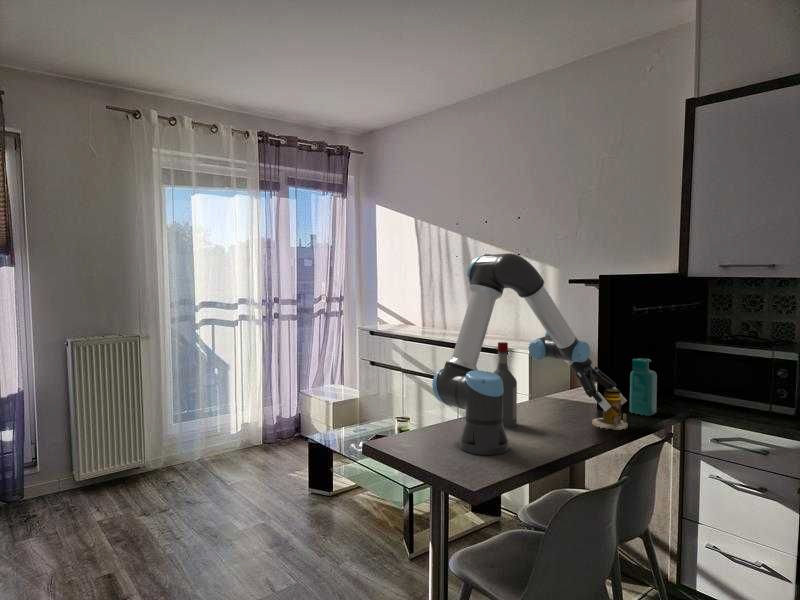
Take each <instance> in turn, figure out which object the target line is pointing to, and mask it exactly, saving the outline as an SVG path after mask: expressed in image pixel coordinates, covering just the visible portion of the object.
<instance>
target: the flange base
mask: <svg viewBox="0 0 800 600" xmlns="http://www.w3.org/2000/svg"><path fill="white" fill-rule="evenodd" d="M598 418H599V419H603V417H598ZM591 421H592V423H591V425H592V424H593V425H594V427H595V426H596V428H598V427H600V428H599V429H602V428H605V429H604V430H608V429H612V430H611V431H621V430H622V429H624V430H627V429H628V428H629V427H628V426H629V424H628V422H627V413H623V414H622V419H621V423H622V424H623V425H622V426H620V425H617V418H616V417H615V418H614V425H609V424H598V423H597V420H596V418H594V419H592V420H591ZM593 425H592V426H593ZM626 428H627V429H626Z"/></svg>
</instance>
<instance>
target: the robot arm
mask: <svg viewBox="0 0 800 600" xmlns="http://www.w3.org/2000/svg"><path fill="white" fill-rule="evenodd" d="M466 272H467V273H466V274H467V275H466V276H467V280H468V283H469V286H468V287H469V290H470V292H471V294H470V297H469V301H468V305H467V308H466V310H465V315H464V318H463V320H462V324H461V327H460V330H459V333H458V337H457V341H456V343H455V347H454V351H453V353H452V355H451V358H450V359H448V360H446V361H445V364H444V367H443V368H441V369H439V370H438V371H437V372H436V373H435V374H434V376H433V378H432V385H431V387H432V392H433V394H434V397H436V398H435V399H437V400H438V401H439V402H441V403H443V404H445V405H446V406H449V407H455V408H458V409H461V410H465V423H464V426H463V429H462V432H461V435H460V438H459V448H460V449H461V450H462V451H464V452H466V453H469V454H472V455H480V456H481V455H482V456H496V455H501V454H505V453H507V452H508V451H509V446H510V445H509V439H508V437H507V434H506V430H505V427H504V426H503V399H504V388H503V380H502V378H501V377H500V376H499V375H497V374H495V373H494V372H491V371H484V370H481V369H478V367H477V365H478V361H479V358H480V354H481V351H482V347H483V345H484V340H485V338H486V334H487V331H488V328H489V324H490V321H491V319H492V314H493V311H494V307H495V305H496V301H497V300H498V299H501V298H502V297H503V293H504V289H510V290H513V291H514V292H516V294H517V295H518V296H519V297H520V298H522V299H524V300H525V301H526V304H527V305H528V306H529V308H530V309H531V311H532V312H533V314H534V315H535V317H536V318H537V320H538V321H539V323H540V324H541V325H542V327H543V329H544V330H545V331H546V332H545V333H544V334H545V335H544V336H542V337H540V338H536V339H534V340H532V341H530V343H529V344H528V353H529V355H530V357H532V358H533V359H534V360H535V361H536V360H537V361H539V360H544V359H545V358H546V359H555V360H562V361H564V362H565V363H566V364H567V365H568V366H570V369H571V370H572V371H573V372H574V374H575V376H576V377H577V378H578V380H579V382H580V384H581V386H582V389H583V390H584V392H585V394H586V395H587V396H588V397H589V398H590V399H591V398H593V399H594V400H595V401H596V402H597V404H598V405H599V406H600V408H601V409H602V411H603V410H604V411H607V410H608V409H609V408H610V407H611V406H610V404H609V403H608V402H607V401H606V400H605V399H604V395H602V394H601V393H600V392H599V391H598V390H597V388H596V385H595V383H598V384H600V385H601V386H603V387H604V388H605V389H617V390H618V388H617V387H616V386H618V384H617V383H616V382H615V381H614V380H612V379H611V378H610V377H609V376H608V375H606V374H605V373H604V372H603V371H601V369H600V368H598V366H595V367H592V364H593V361H592V360H591V359H590V355H591V347H590V345H589V344H588V342H586V341H583V340H579V339H578V338H577V337H576V335H575V333H574V331H573V330H572V329H571V327H570V325H569V324H568V322H567V320H566V318H565V317H564V316H563V315H562V313H561V311H560V310H559V308H558V306H557V305H556V303H555V302H554V300H553V299H552V297H551V295H550V293H549V292H548V291H547V288H545V280H544V279H543V277H542V276H541V274H540V273H539V271H538V270H537V269H536V268H535V267H534V266H533V264H532V263H530V261H528V260H527V259H525V258H524V257H523V256H521V255H518V254H515V253H498V254H490V253H489V254H488V253H487V254H483V255H479V256H477V257H475V258H473V260H472V261H471V262H470V264H469V265H468V268H467V271H466ZM620 398H621V406H623V405H624V404H626V402H627V401H628V400H627V399H626V398H625V396H623V394H622V393H621V392H620Z"/></svg>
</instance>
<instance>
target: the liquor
mask: <svg viewBox="0 0 800 600" xmlns="http://www.w3.org/2000/svg"><path fill="white" fill-rule="evenodd" d="M508 352H509V345H508V342H507V341H505V342H502V341H500V342H497V367H496V369H495V370H494V371H493V373H495V374H497V375H499V376H500V377H501V378H502V380H503V388H504V399H503V426H504V428H514V427H516V425H517V419H518V418H517V413H518V412H517V410H518V409H517V408H518V407H517V406H518V405H517V403H518V401H517V399H518V395H517V394H518V392H517V389H518V382H517V379H516V377H515V375H513V374H512V373H511V370H509V366H508Z"/></svg>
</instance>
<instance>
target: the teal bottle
mask: <svg viewBox="0 0 800 600" xmlns="http://www.w3.org/2000/svg"><path fill="white" fill-rule="evenodd" d="M631 361H632V365H631V366H632V371H630V374H629V413H630V412H631V413H630V414H632V413H635V414H634V415H637V414H640V415H639V416H643V415H645V416H644V417H651V415H652V416H654V415H656V414H655V413H657V399H658V398H657V396H658V395H657V392H658V385H657V383H658V374H657V372H656V371H654V370H651V369H650V368H649V367H650V364H649V363H650V362H652V360H651V359H649V358H632V360H631Z"/></svg>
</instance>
